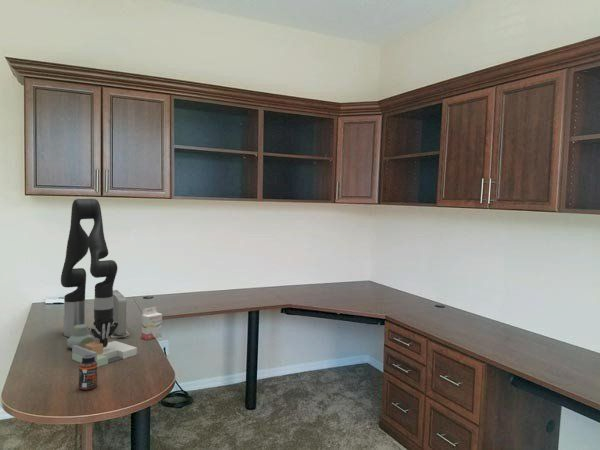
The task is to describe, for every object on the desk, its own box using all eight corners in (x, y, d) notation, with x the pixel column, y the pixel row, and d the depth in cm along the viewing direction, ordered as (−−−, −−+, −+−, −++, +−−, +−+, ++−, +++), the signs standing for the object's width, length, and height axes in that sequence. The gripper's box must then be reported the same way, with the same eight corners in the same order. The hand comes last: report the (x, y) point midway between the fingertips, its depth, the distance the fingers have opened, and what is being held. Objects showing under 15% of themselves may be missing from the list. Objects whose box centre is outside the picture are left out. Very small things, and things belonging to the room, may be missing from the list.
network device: (104, 327, 226) (104, 290, 226) (121, 325, 231) (122, 289, 231) (112, 340, 205) (113, 299, 204) (131, 337, 210) (132, 297, 209)
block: (84, 354, 177) (84, 344, 177) (95, 350, 181) (96, 341, 181) (91, 356, 174) (91, 347, 174) (102, 353, 179) (103, 343, 179)
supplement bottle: (87, 392, 148) (87, 360, 148) (74, 388, 151) (74, 357, 150) (100, 385, 154) (101, 354, 154) (88, 382, 156) (88, 352, 156)
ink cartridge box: (146, 340, 206) (147, 310, 206) (141, 338, 210) (141, 308, 209) (162, 336, 213) (162, 307, 213) (156, 334, 216) (157, 306, 216)
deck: (72, 359, 179) (72, 345, 178) (115, 347, 196) (115, 334, 195) (94, 368, 170) (94, 353, 170) (137, 354, 187) (137, 341, 187)
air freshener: (75, 352, 187) (76, 330, 187) (63, 349, 191) (63, 327, 190) (97, 345, 197) (97, 324, 197) (84, 342, 201) (85, 321, 200)
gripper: (112, 303, 189) (112, 341, 189) (83, 308, 177) (83, 349, 178) (122, 305, 185) (122, 344, 185) (94, 311, 173) (94, 353, 174)
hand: (103, 346), depth 182 cm, fingers closed
